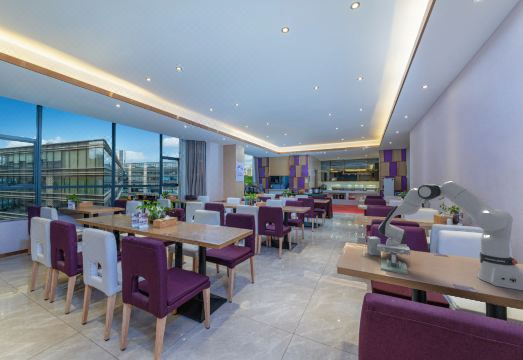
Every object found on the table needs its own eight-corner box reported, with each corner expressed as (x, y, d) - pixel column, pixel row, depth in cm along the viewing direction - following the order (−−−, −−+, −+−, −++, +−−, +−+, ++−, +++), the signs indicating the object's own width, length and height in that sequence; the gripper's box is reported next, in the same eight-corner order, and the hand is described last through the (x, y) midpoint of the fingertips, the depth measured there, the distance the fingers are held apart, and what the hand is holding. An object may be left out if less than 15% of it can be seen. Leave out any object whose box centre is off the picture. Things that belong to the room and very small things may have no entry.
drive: (390, 263, 147) (390, 249, 147) (396, 264, 145) (396, 250, 145) (390, 266, 141) (390, 252, 141) (396, 267, 140) (396, 253, 140)
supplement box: (376, 252, 173) (376, 236, 174) (381, 255, 166) (380, 238, 166) (367, 252, 174) (366, 236, 174) (370, 255, 167) (370, 238, 167)
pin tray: (381, 261, 154) (381, 256, 154) (405, 264, 147) (405, 259, 147) (380, 269, 139) (380, 264, 139) (407, 274, 132) (407, 268, 132)
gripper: (376, 240, 167) (375, 245, 155) (409, 244, 157) (411, 249, 145) (376, 249, 167) (375, 254, 155) (409, 253, 157) (411, 259, 145)
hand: (393, 252), depth 150 cm, fingers open, 8 cm apart
